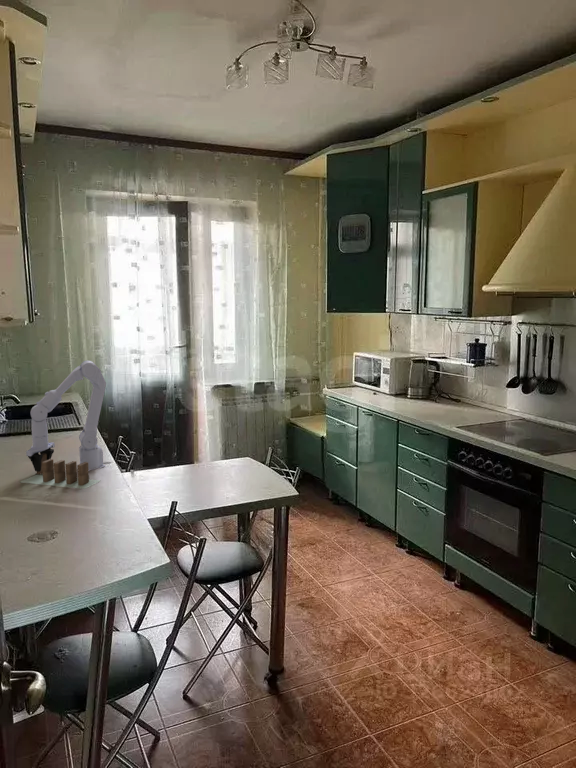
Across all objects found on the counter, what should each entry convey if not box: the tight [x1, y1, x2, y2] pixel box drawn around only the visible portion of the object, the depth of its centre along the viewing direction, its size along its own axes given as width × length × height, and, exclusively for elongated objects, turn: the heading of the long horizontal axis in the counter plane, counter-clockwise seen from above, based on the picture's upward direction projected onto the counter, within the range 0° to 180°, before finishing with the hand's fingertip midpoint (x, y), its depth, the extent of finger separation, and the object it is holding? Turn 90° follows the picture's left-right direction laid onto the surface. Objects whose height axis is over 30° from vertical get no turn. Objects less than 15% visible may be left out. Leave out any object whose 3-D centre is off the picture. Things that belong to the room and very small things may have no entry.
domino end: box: [77, 462, 90, 486], centre depth 216 cm, size 4×2×8 cm, turn 165°
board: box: [20, 474, 101, 490], centre depth 219 cm, size 10×28×1 cm, turn 75°
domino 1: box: [36, 454, 47, 475], centre depth 229 cm, size 4×2×8 cm, turn 165°
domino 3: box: [53, 459, 66, 483], centre depth 218 cm, size 4×2×8 cm, turn 165°
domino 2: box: [42, 458, 55, 482], centre depth 219 cm, size 4×2×8 cm, turn 165°
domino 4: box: [65, 460, 78, 484], centre depth 217 cm, size 4×2×8 cm, turn 165°
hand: (41, 469), depth 229 cm, fingers closed on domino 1, 4 cm apart
